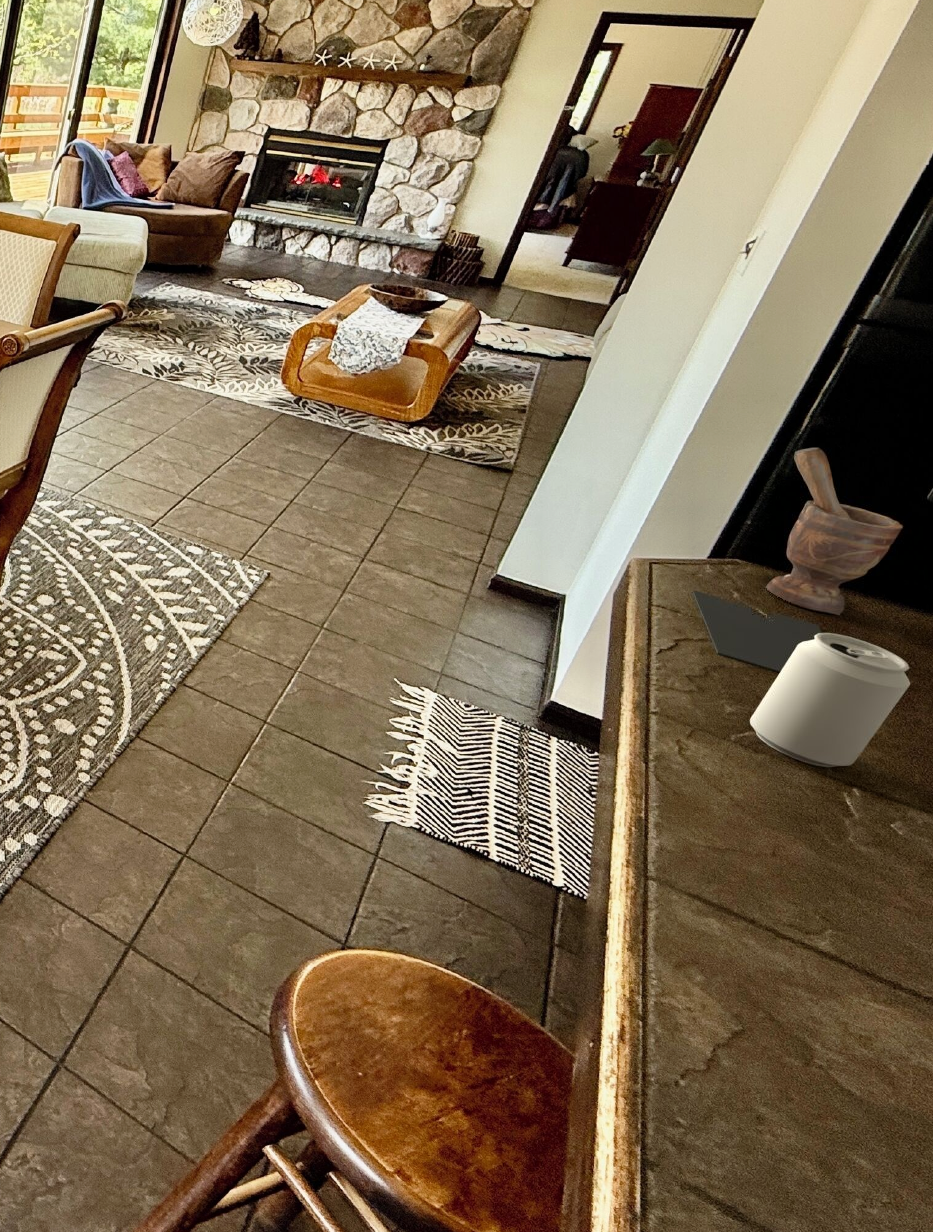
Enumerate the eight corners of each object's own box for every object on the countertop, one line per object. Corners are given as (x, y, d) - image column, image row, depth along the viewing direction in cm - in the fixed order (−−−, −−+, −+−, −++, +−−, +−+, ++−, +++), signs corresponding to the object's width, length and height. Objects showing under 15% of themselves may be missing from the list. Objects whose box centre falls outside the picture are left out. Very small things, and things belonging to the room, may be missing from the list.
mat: (816, 625, 117) (817, 624, 117) (861, 697, 103) (862, 696, 102) (691, 591, 124) (692, 589, 124) (717, 653, 109) (718, 652, 109)
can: (737, 713, 98) (797, 618, 93) (835, 744, 94) (903, 647, 89) (755, 749, 92) (820, 650, 87) (861, 784, 88) (935, 682, 83)
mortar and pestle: (731, 590, 125) (810, 456, 117) (722, 568, 131) (796, 440, 123) (853, 624, 118) (945, 484, 110) (837, 599, 125) (923, 465, 117)
